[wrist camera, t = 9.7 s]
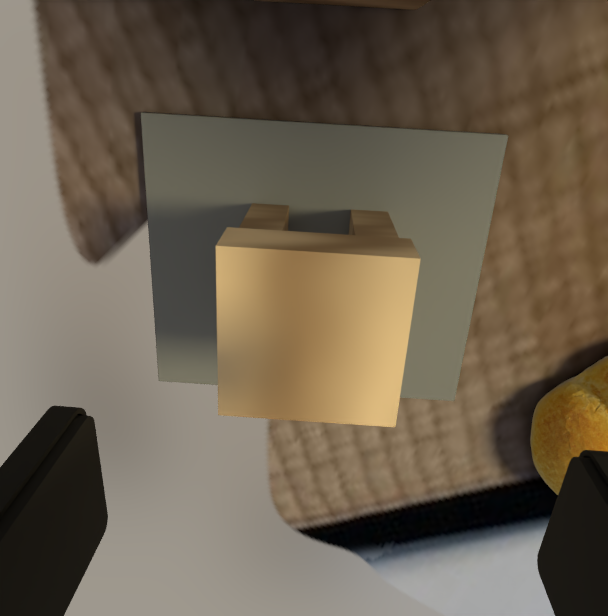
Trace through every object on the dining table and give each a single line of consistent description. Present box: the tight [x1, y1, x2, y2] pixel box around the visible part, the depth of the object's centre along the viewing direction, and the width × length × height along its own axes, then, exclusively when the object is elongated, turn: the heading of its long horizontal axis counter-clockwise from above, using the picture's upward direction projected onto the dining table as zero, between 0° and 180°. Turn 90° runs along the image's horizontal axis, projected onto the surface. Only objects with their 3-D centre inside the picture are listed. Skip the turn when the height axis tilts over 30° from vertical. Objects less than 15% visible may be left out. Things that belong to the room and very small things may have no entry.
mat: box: [141, 112, 508, 401], centre depth 23 cm, size 14×12×1 cm
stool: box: [216, 203, 421, 427], centre depth 20 cm, size 6×6×6 cm
